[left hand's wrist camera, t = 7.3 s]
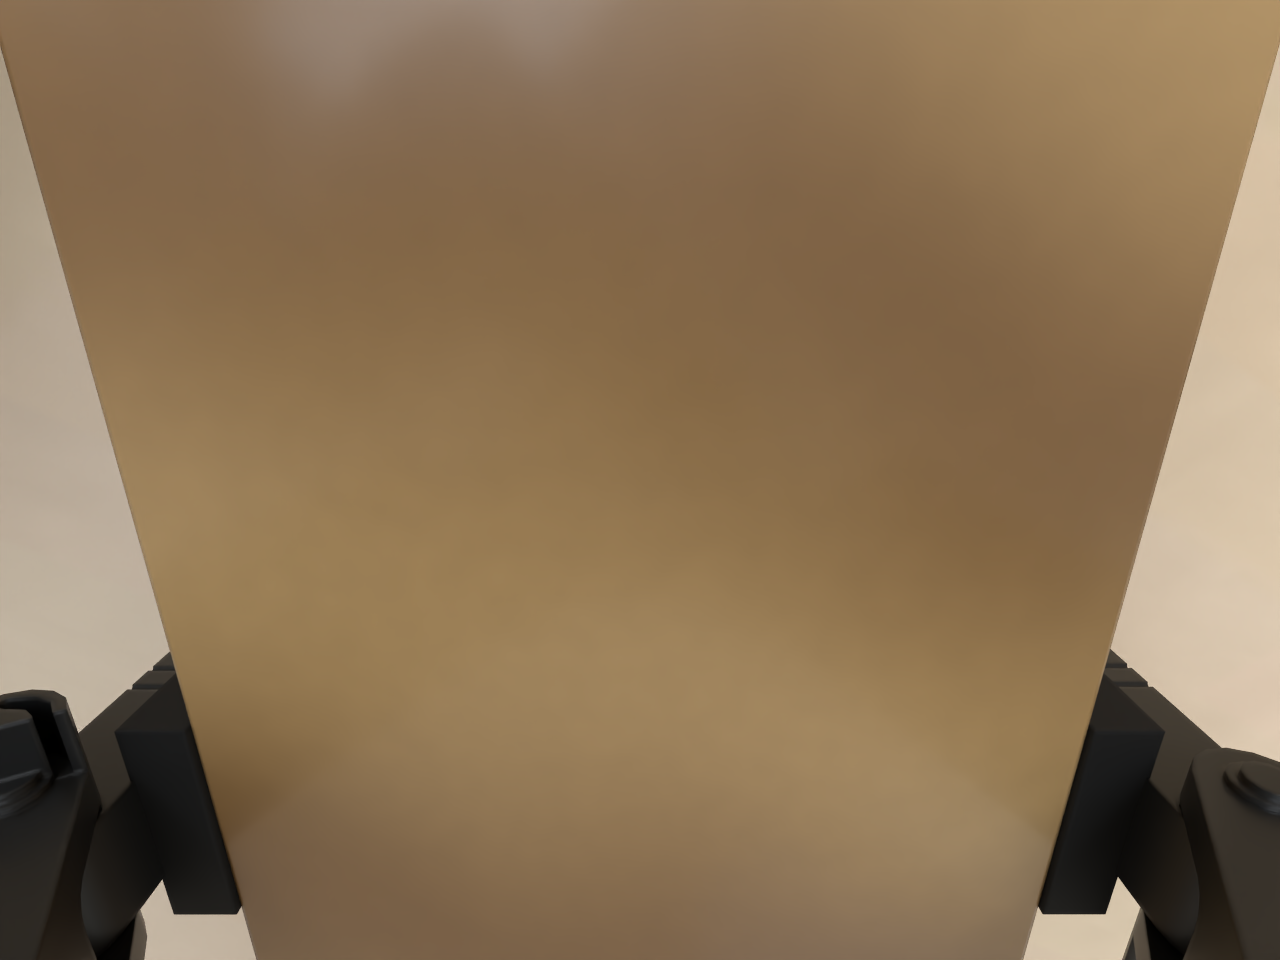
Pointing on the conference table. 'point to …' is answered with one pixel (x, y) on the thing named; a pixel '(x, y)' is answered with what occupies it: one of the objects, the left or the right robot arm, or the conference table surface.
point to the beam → (639, 438)
